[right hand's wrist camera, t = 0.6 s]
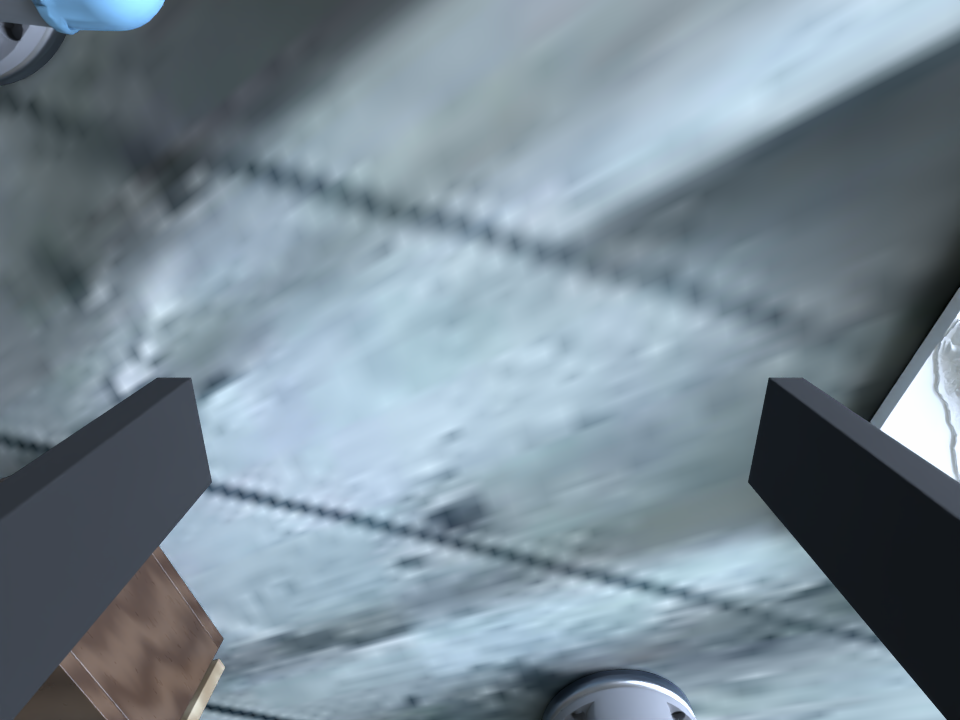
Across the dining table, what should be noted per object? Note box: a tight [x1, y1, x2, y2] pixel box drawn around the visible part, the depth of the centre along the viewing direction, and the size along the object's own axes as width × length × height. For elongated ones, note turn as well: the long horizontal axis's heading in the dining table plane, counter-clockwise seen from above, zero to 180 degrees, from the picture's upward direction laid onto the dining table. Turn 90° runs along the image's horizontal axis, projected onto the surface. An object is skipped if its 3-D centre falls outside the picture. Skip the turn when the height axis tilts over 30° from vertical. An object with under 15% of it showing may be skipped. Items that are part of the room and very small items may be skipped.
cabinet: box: [0, 476, 223, 720], centre depth 42 cm, size 22×11×12 cm, turn 20°
